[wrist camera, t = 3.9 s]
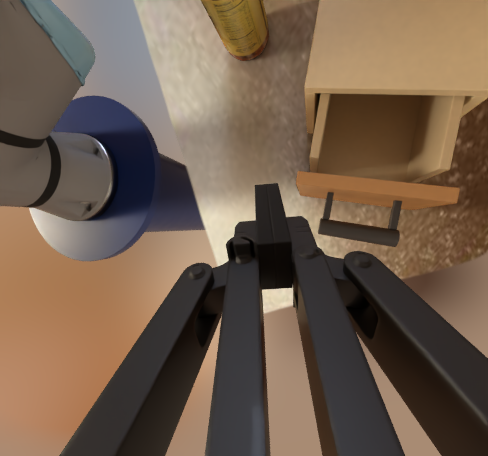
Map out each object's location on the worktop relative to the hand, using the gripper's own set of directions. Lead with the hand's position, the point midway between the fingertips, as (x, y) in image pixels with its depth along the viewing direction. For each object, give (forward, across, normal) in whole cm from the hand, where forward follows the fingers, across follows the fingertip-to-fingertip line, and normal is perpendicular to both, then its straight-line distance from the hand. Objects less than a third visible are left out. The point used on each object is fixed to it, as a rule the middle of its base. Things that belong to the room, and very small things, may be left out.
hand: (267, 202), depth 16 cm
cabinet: (+21, -15, -6) cm, 26 cm away
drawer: (+14, -12, +3) cm, 19 cm away
